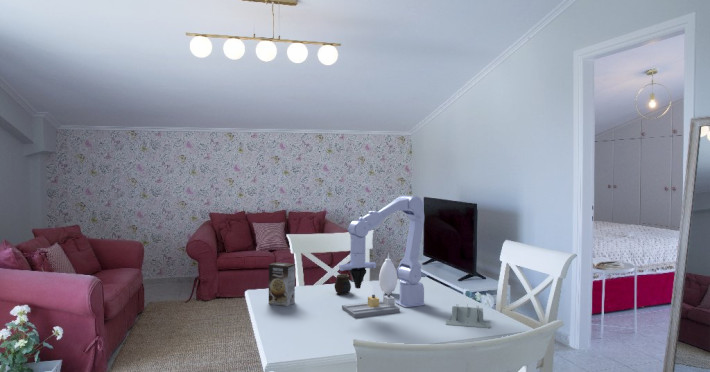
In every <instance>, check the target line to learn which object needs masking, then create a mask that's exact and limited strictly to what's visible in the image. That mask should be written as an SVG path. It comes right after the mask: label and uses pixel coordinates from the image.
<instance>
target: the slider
mask: <svg viewBox="0 0 710 372" xmlns="http://www.w3.org/2000/svg"><path fill="white" fill-rule="evenodd" d="M379 301H380V298H379V297H378V296H376V295H375V294H371V296H367V302H368V305H369V306H371V307H378V306H379Z"/></svg>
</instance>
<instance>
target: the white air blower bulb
mask: <svg viewBox="0 0 710 372" xmlns="http://www.w3.org/2000/svg"><path fill="white" fill-rule="evenodd" d="M396 271H397V268H396V267H395V264H394V263H393V261H392V259H391V258H390V253H389V252H388V253H387V258H385V260H384V262H383V263H382V265H381V268H380V271H379V275H378V282H379V285H378V286H379V287H380V290H381V291H382V292H383V293H384V294H385V295H387V294H392V293H393V292H395V290H396V288H397V286H398V285H397V284H398V277H397V274H396Z"/></svg>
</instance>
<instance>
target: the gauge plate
mask: <svg viewBox="0 0 710 372" xmlns="http://www.w3.org/2000/svg"><path fill="white" fill-rule="evenodd" d="M391 294H392V293H390V294H386V295H383V296H382V297H383V299H382V300H379V306H378V307H371V306H369V305H368V301H367V302H359V303H351V304H349V303H348V304H344V305H341V310H343V312H345V313H347V314H348V315H350V317H352V318H353V319H358V318H364V317H365V318H366V317H372V316H381V315H387V314H394V313H395V314H396V313H400V312H401V311H400V307H398V306H397V305H396V298H395V297H394V296H392V295H391Z"/></svg>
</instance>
